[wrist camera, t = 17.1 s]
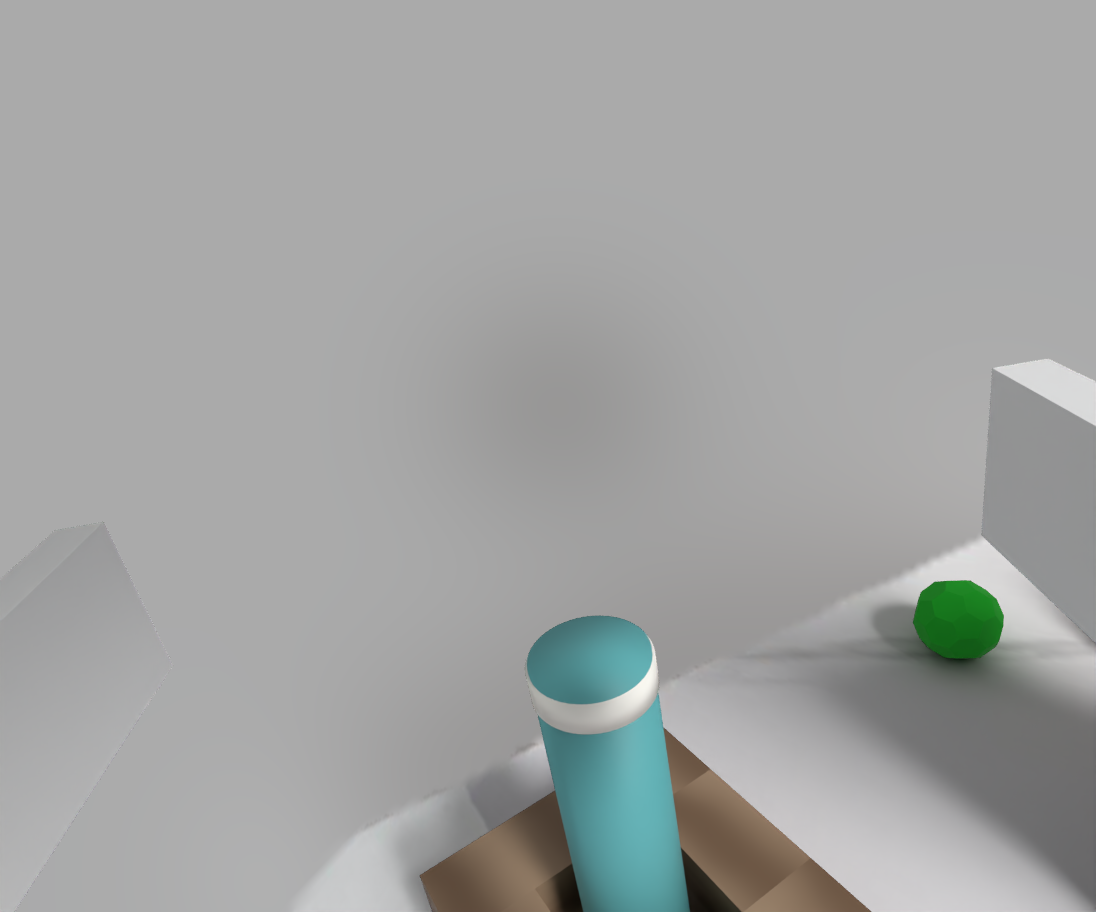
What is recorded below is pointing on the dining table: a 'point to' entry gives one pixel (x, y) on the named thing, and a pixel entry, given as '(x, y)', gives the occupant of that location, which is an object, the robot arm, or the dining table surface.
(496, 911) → the socket block
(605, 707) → the peg
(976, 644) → the polyhedron
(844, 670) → the dining table surface
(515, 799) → the dining table surface
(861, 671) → the dining table surface
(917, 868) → the dining table surface
